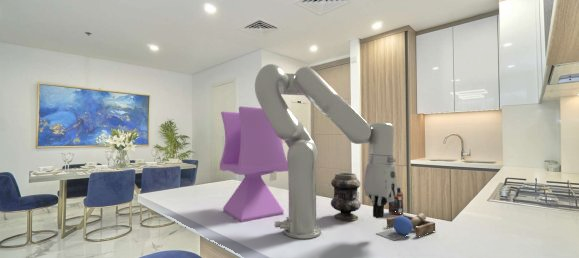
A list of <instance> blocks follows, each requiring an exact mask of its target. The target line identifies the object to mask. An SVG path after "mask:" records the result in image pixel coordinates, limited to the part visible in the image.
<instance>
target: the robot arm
mask: <svg viewBox="0 0 579 258" xmlns="http://www.w3.org/2000/svg"><path fill="white" fill-rule="evenodd" d="M254 92H255V96H256V100H257V101H258V104H259V105H260V108H262V109H263V111H264V113H265V115H266V117H267V118H268V120H269V122H270V124H271V126H272V127H273V129H274V131H275V133H276V135H277V136H278V137H279V138H280V139H282V141H284V142H285V144H286V145H287V147H288V150H287V153H286V160H287V163H288V171H287V173H288V175H287V176H288V217H286V218H285V219H286V220H285V219H284V220H283V221H275V222H274V228H279V230H283V233H284V234H285V236H287V237H289V238H294V239H301V240H302V239H303V240H304V239H313V238H317V237H319V236H320V235H321V234H322V229H321V228H320V227H319V226H318V225H317V173H316V172H317V171H316V160H317V158H318V156H319V155H318V154H319V152H318V148H317V146H316V143H315V142H314V140H313V139H312V137H311V135H310V134H309V132H308V130H307V128H306V126H305V125H304V123H303V122H302V121H301V120H300V119H299V118H298V117H296V116H295V115H294V114H293V112H292V111H291V110H290V108H289V106H288V104H287V102H286V101H285V98H283V96H282V95H288V96H289V95H290V96H304V97H305V98H306V99H308V101H309V102H310V103H311V104H312V105H313V106H314V107H315V108H316V109H317V110H318V111H319V112H320V113H321V114H322V115H323V116H325V117H327V119H329V120H330V121H331V122H332V123H333V124H334V125H335V126H336V127H337V128H338V129H339V131H341V132H342V133H343V134H344V135H345V136H346V138H347V140H348V141H349V142H351V143H352V144H354V145H355V144H356V145H360V144H368V161H367V163H366V167H365V172H364V179H363V190H364V195H365V196H366V197H368V198H369V199H370V202H371V205H372V217H374V218H376V219H381V218H384V214H385V206H386V205H387V204H388V203H389V202H394V197H395V196H397V187H398V178H397V170H396V166H394V165H393V164H394V163H396V158H394V139H395V136H394V135H395V127H394V125H393V124H392V123H388V122H373V123H368V122H367V121H366V120H365V119H364V118H363V117H362V116H361V115H360V114H359V113H358V112H357V111H356V110H355V109H354V108H353V107H352V105H350V104H349V103H348V102H347V101H346V100H344V98H343V97H342V96H341V95H339V94H338V93H337V91H335V89H333V88H332V87H331V86H330V85H329V84H328V83H327V81H325V79H324V78H322V76H321V75H320V74H318V72H317V71H315V69H313V68H311V67H309V66H301V67H300V68H298V69H297V70H296V72H295V73H286V72H285V71H284V70H283V69H282V68H281V67H280V66H278V65H276V64H273V63H272V64H271V63H270V64H266V65H264V66H262V67H261V69H259V71H258V73H257V75H256V78H255V82H254Z"/></svg>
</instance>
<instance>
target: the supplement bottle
mask: <svg viewBox="0 0 579 258" xmlns="http://www.w3.org/2000/svg"><path fill="white" fill-rule="evenodd" d="M395 211H396V212H395ZM388 213H389V214H391V215H394V214H395V216H396V215H397V216H400V215H401V214H402V215H404V193H403V192H402V191H401V187H400V186H397V196H395V197H394V202H388ZM400 213H401V214H400Z"/></svg>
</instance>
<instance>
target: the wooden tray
mask: <svg viewBox="0 0 579 258" xmlns="http://www.w3.org/2000/svg"><path fill="white" fill-rule="evenodd" d="M398 216H404V217H407V218H408V219H409V220H411V219H413V218H414V217H415V216H410V215H406V214H402V215H397V216H396V215H395V216H393V217H388V218H386V227H387V228H388V227H389V228H388V229H391V228H394V227H393V221H394V219H395V218H396V217H398ZM417 226H418V227H414V228H415V237H416V236H418V237H417V238H420V237H419V236H422V235H424V236H426V235H425V234H427V233H430V232H433V231H435V232H436V223H435V222H434V221H430V220H426V219H425V220H424V221H422V222H421V223H419V224H418V225H417ZM390 227H391V228H390ZM433 233H434V232H433ZM430 234H431V233H430ZM427 235H428V234H427ZM422 237H423V236H422Z"/></svg>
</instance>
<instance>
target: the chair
mask: <svg viewBox="0 0 579 258" xmlns="http://www.w3.org/2000/svg"><path fill="white" fill-rule="evenodd" d="M220 114H221V118H222V119H221V120H222V124H223V127H224V136H225V137H224V147H223V152H222V156H221V159H220V162H219V170H220V171H223V172H224V171H228V172H232V173H234V174H236V175H239V176H244V178H243V179H242V181H241V182H240V183H239V185H238V187H237V188H236V189H235V191H234V192H233V194H232V195H231V196H230V198H229V199H228V200H227V202H226V203H225V204H224V206H223V210H222V211H223V213H225V214H227V215H228V216H230V217H232V218H233V219H235V220H237V221H238V222H240V223H246V222H250V221H251V222H252V221H254V220H255V221H256V220H261V219H266V218H271V217H277V216H282V215H284V214H285V213H284V209H283V207H282V206H281V205H280V203H279V202H278V200H277V199H276V198H275V196H274V194H273V193H272V191H271V190H270V188H269V187H268V186H267V184H266V182H265V181H264V180H263V179H262V176H265V175H268V174H273V173H275V172H276V173H281V172H288V163H287V155H286V154H285V150H284V146H283V140H282V139H280V138H279V137H278V136H277V135H276V133H275V131H274V129H273V127H272V126H271V124H270V122H269V120H268V118H267V117H266V115H265V113H264V111H263V109H262V107H251V106H239V107H238V112H237V111H236V112H235V111H221V113H220Z"/></svg>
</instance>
